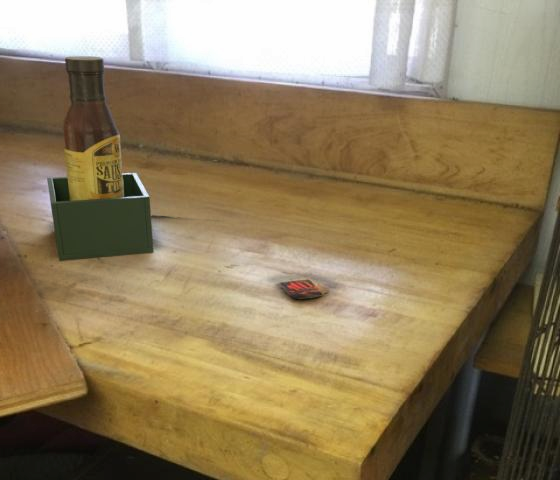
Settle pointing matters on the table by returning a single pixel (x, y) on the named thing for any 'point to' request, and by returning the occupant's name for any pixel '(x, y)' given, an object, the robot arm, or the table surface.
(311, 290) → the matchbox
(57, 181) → the bin
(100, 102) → the sauce bottle
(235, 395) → the table surface
